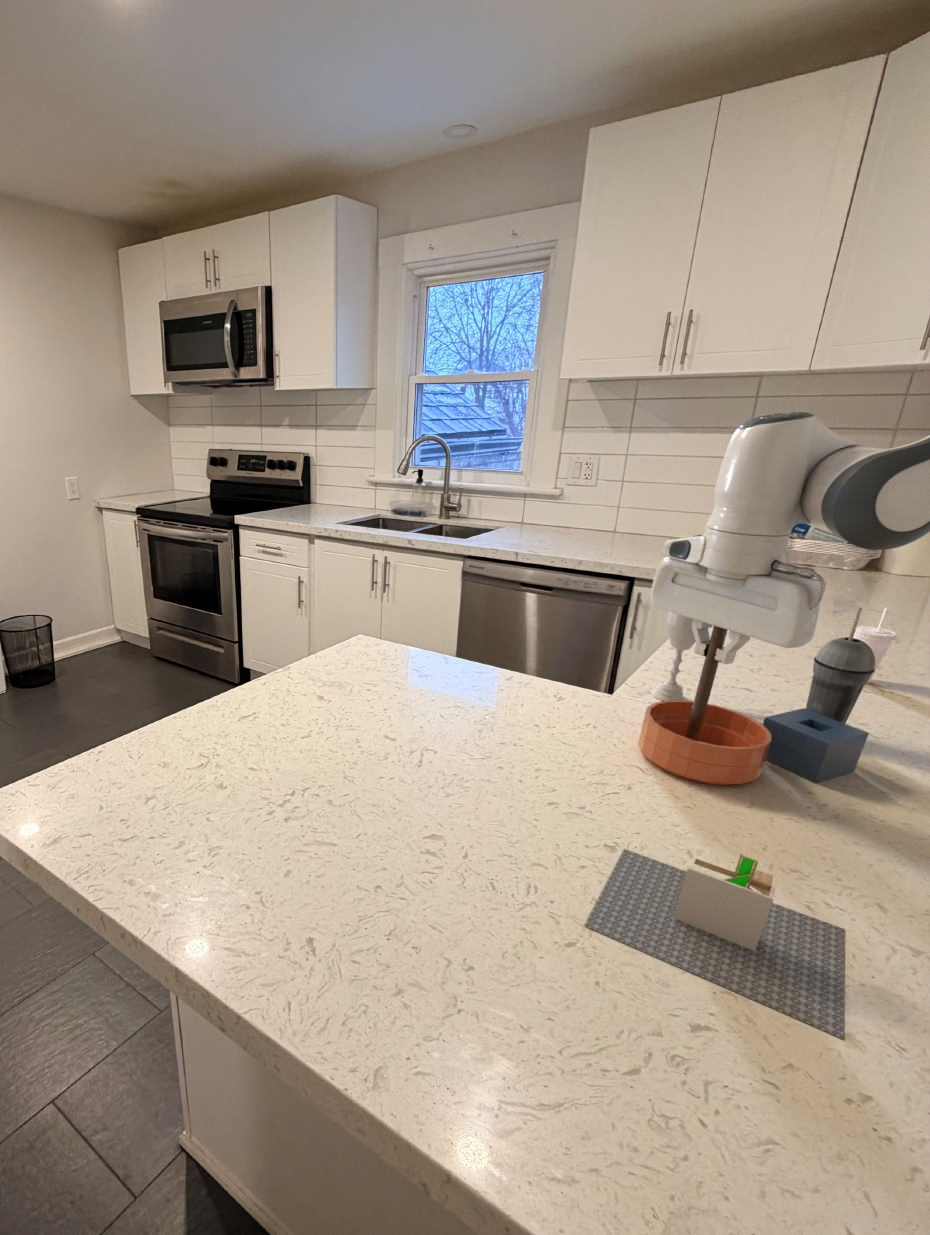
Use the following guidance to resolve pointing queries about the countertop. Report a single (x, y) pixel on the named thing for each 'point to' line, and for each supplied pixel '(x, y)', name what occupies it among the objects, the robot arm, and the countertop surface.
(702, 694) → the stick
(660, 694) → the chalice
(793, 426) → the robot arm
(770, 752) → the holder
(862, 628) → the smoothie
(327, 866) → the countertop surface
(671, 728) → the bowl
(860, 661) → the beverage cup
